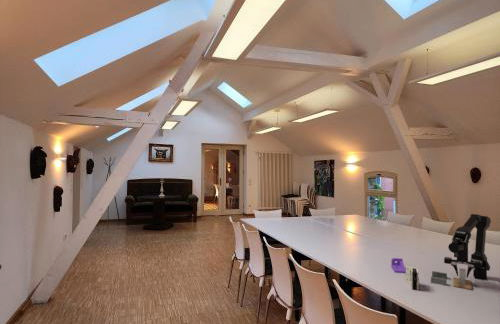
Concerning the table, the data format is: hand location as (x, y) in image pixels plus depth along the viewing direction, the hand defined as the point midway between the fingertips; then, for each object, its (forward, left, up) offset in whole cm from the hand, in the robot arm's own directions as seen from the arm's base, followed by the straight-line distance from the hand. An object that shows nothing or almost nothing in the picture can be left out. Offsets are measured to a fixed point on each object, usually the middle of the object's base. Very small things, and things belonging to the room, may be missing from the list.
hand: (462, 276), depth 193 cm
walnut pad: (0, 0, -4) cm, 4 cm away
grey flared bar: (0, 0, -4) cm, 4 cm away
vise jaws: (+12, 0, -4) cm, 13 cm away
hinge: (+25, +20, -5) cm, 32 cm away
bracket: (+36, -7, -5) cm, 37 cm away
